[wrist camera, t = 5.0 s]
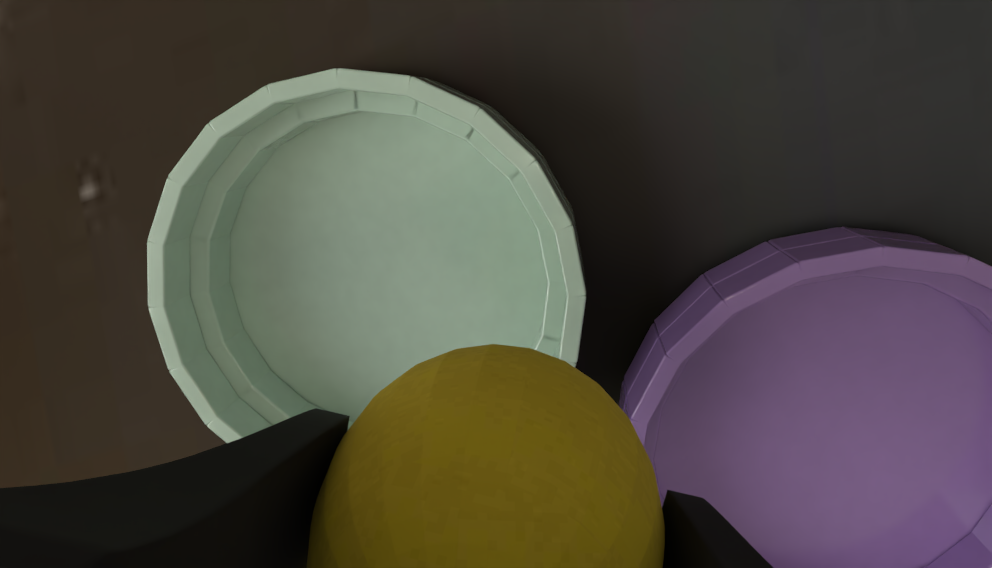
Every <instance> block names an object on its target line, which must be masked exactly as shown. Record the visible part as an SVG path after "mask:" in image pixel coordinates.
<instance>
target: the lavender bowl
mask: <svg viewBox="0 0 992 568" xmlns="http://www.w3.org/2000/svg"><path fill="white" fill-rule="evenodd" d="M619 407H620V408H621V409H622V410H623V411H624V412H625V414H626V415H627V416H628V418H629V419H630V421H631V423H632V425H633V427H634V429H635V431H636V433H637V435H638V437H639V439H640V441H641V443H642V445H643V447H644V449H645V451H646V453H647V454H648V457H649V459H650V461H651V463H652V465H653V469H654V473H655V476H656V481H657V486H658V491H659V496H660V501H661V506H663V503H664V499H665V496H666V493H667V490H671V491H675V492H680V493H684V494H688V495H693V496H697V497H701V498H704V499H705V500H706V501H707V502H709V503H710V504H711V505H712V506H713V507H714V508H715V509H716V510H717V511H718V512H719V513H720V514H721V515H722V516H723V517H724V518H725V519H726V520H727V521H728V522H729V523H730V524H731V525H732V526H733V527H734V528H735V529H736V530H737V531H738V532H739V533H740V534H741V535H742V536H743V537H744V538H745V539H746V540H747V541H748V542H749V544H750V545H751V546H752V547H753V548H754V549H755V550H756V551H757V552H758V553H759V554H760V555H761V556H762V557H763V558H764V559H765V560H766V561H767V562H768V563H769V564H770V565H771V566H772V567H773V568H992V266H990V265H988V264H986V263H984V262H981V261H979V260H977V259H975V258H973V257H970V256H968V255H965V254H963V253H960V252H957V251H955V250H952V249H950V248H947V247H944V246H942V245H939V244H936V243H934V242H931V241H929V240H926V239H923V238H921V237H917V236H915V235H911V234H902V233H894V232H885V231H876V230H868V229H859V228H850V227H836V228H830V229H825V230H820V231H814V232H809V233H803V234H798V235H792V236H787V237H782V238H776V239H771V240H769V241H768V242H767V241H766V242H763V243H761V244H759V245H757V246H755V247H753V248H751V249H749V250H747V251H746V252H744V253H742V254H740V255H738V256H736V257H734V258H732V259H730V260H728V261H726V262H724V263H722V264H720V265H718V266H716V267H714V268H712V269H710V270H708V271H706V272H705V273H704V275H703V274H702V275H700V276H699V277H698V278H697V279H696V280H695V281H694V282H693V283H692V284H691V285H690V286H689V287H688V288H687V289H686V290H685V291H684V292H683V293H682V294H681V295H680V296H679V297H678V298H677V299H676V300H675V301H674V302H672V303H671V304H670V305H669V306H668V307H667V308H666V309H665V310H664V311H663V312H662V313H661V314H660V315H659V316H658V317H657V318H656V319H655V320H654V323H653V324H652V325H651V327H650V328H649V330H648V332H647V334H646V336H645V338H644V340H643V342H642V344H641V345H640V347H639V349H638V351H637V353H636V355H635V357H634V359H633V361H632V363H631V364H630V366H629V368H628V370H627V372H626V374H625V376H624V380H623V382H622V387H621V393H620V399H619Z"/></svg>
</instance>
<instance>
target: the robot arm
mask: <svg viewBox="0 0 992 568" xmlns="http://www.w3.org/2000/svg"><path fill="white" fill-rule="evenodd" d="M349 417H350V416H347V415H343V414H339V413H335V412H330V411H326V410H322V409H317V408H315V409H312V410H309V411H306V412H303V413H301V414H298V415H296V416H293V417H291V418H289V419H286V420H284V421H282V422H279V423H277V424H275V425H272V426H270V427H267V428H265V429H262V430H260V431H258V432H255V433H253V434H250V435H248V436H245V437H243V438H240V439H238V440H235V441H232V442H229V443H227V444H224V445H221V446H218V447H215V448H212V449H210V450H207V451H204V452H201V453H198V454H196V455H193V456H189V457H186V458H183V459H179V460H176V461H172V462H169V463H165V464H161V465H157V466H153V467H149V468H145V469H141V470H136V471H132V472H127V473H121V474H115V475H109V476H103V477H97V478H91V479H85V480H79V481H73V482H66V483H57V484H47V485H38V486H26V487H12V488H0V568H307V558H308V548H309V538H310V528H311V521H312V515H313V510H314V507H315V503H316V499H317V496H318V493H319V491H320V488H321V486H322V483H323V481H324V478H325V476H326V474H327V471H328V469H329V466H330V464H331V461H332V459H333V456H334V454H335V451H336V449H337V447H338V445H339V443H340V441H341V440H342V438H343V436H344V435H345V434H346V432H347V429H348V423H349ZM662 511H663V516H664V524H665V549H664V561H663V568H773V567H772V566H771V565H770V564H769V563H768V562H767V561H766V560H765V559H764V558H763V557H762V556H761V555H760V554H759V553H758V552H757V551H756V550H755V549H754V548H753V547H752V546H751V545H750V544H749V542H748V541H747V540H746V539H745V538H744V537H743V536H742V535H741V534H740V533H739V532H738V531H737V530H736V529H735V528H734V527H733V526H732V525H731V524H730V523H729V522H728V521H727V520H726V519H725V518H724V517H723V516H722V515H721V514H720V513H719V512H718V511H717V510H716V509H715V508H714V507H713V506H712V505H711V504H710V503H709V502H707V501H706V500H705V499H704V498H701V497H697V496H693V495H688V494H684V493H680V492H675V491H671V490H667V493H666V496H665V499H664V503H663V506H662Z"/></svg>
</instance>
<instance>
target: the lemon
mask: <svg viewBox="0 0 992 568" xmlns="http://www.w3.org/2000/svg"><path fill="white" fill-rule="evenodd" d="M664 549H665V524H664V516H663V511H662V506H661V501H660V496H659V491H658V486H657V481H656V476H655V473H654V469H653V465H652V463H651V461H650V459H649V457H648V454H647V453H646V451H645V449H644V447H643V445H642V443H641V441H640V439H639V437H638V435H637V433H636V431H635V429H634V427H633V425H632V423H631V421H630V419H629V418H628V416H627V415H626V414H625V412H624V411H623V410H622V409H621V408H620V407H619V406H618V405H617V404H616V402H615V401H614V400H613V399H612V398H611V397H610V396H609V395H608V394H607V393H606V391H605V390H604V389H603V388H602V387H601V386H600V385H599V384H598V383H597V382H595V381H594V380H592V379H591V378H590V377H588V376H587V375H585V374H584V373H582V372H581V371H579V370H578V369H576V368H575V367H573V366H572V365H570V364H569V363H567V362H566V361H564V360H561V359H558V358H556V357H553V356H550V355H548V354H545V353H542V352H539V351H537V350H534V349H531V348H525V347H517V346H508V345H499V344H489V345H481V346H474V347H466V348H458V349H455V350H452V351H449V352H447V353H444V354H441V355H439V356H436V357H434V358H431V359H429V360H426V361H424V362H421V363H418V364H417V365H415V366H414V367H412V368H411V369H409V370H408V371H406V372H405V373H404V374H402V375H401V376H400V377H398V378H397V379H396V380H394V381H393V382H392V383H390V384H389V385H388V386H386V387H385V388H384V389H382V390H381V391H380V392H379V393H378V394H377V395H375V396H374V397H373V399H372V400H371V401H370V403H369V404H368V405H367V406H366V408H365V409H364V410H363V412H362V413H361V414H360V415H359V417H358V418H357V419H356V421H355V422H354V423H353V424H352V426H351V427H350V428H349V430H348V431H347V432H346V434H345V435H344V436H343V438H342V440H341V441H340V443H339V445H338V447H337V449H336V451H335V454H334V456H333V459H332V461H331V464H330V466H329V469H328V471H327V474H326V476H325V478H324V481H323V483H322V486H321V488H320V491H319V493H318V496H317V499H316V503H315V507H314V510H313V515H312V521H311V528H310V538H309V548H308V558H307V568H663V561H664Z"/></svg>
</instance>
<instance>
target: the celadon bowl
mask: <svg viewBox="0 0 992 568" xmlns="http://www.w3.org/2000/svg"><path fill="white" fill-rule="evenodd" d="M147 273H148V307H149V312H150V315H151V318H152V321H153V324H154V328H155V331H156V334H157V337H158V340H159V343H160V346H161V349H162V352H163V355H164V358H165V361H166V364H167V367H168V370H170V374H171V375H172V377H173V378H174V379H175V381H176V382H177V384H178V385H179V387H180V388H181V390H182V391H183V393H184V394H185V396H186V397H187V398H188V400H189V401H190V403H191V404H192V406H193V407H194V409H195V410H196V412H197V413H198V415H199V416H200V418H201V419H202V420H203V422H204V423H205V424H206V425H207V427H208V428H209V429H211V430H212V431H213V432H214V433H215V434H217V435H218V436H219V437H220V438H221V439H223V440H224V441H225V442H226V443H229V442H232V441H235V440H238V439H240V438H243V437H245V436H248V435H250V434H253V433H255V432H258V431H260V430H262V429H265V428H267V427H270V426H272V425H275V424H277V423H279V422H282V421H284V420H286V419H289V418H291V417H293V416H296V415H298V414H301V413H303V412H306V411H309V410H312V409H315V408H317V409H322V410H326V411H330V412H335V413H339V414H343V415H347V416H350V417H349V423H348V429H347V431H348V430H349V428H350V427H351V426H352V424H353V423H354V422H355V421H356V419H357V418H358V417H359V415H360V414H361V413H362V412H363V410H364V409H365V408H366V406H367V405H368V404H369V403H370V401H371V400H372V399H373V397H374V396H375V395H377V394H378V393H379V392H380V391H381V390H382V389H384V388H385V387H386V386H388V385H389V384H390V383H392V382H393V381H394V380H396V379H397V378H398V377H400V376H401V375H402V374H404V373H405V372H406V371H408V370H409V369H411V368H412V367H414V366H415V365H417V364H418V363H421V362H424V361H426V360H429V359H431V358H434V357H436V356H439V355H441V354H444V353H447V352H449V351H452V350H455V349H458V348H466V347H474V346H481V345H489V344H499V345H508V346H517V347H525V348H531V349H534V350H537V351H539V352H542V353H545V354H548V355H550V356H553V357H556V358H558V359H561V360H564V361H566V362H567V363H569V364H570V365H572V366H573V367H576V363H577V361H578V355H579V347H580V340H581V333H582V326H583V318H584V311H585V304H586V283H585V272H584V265H583V260H582V254H581V249H580V244H579V239H578V233H577V228H576V223H575V218H574V212H573V211H572V207H571V205H570V203H569V201H568V199H567V198H566V196H565V194H564V192H563V190H562V189H561V187H560V185H559V183H558V181H557V180H556V178H555V176H554V174H553V172H552V171H551V169H550V167H549V165H548V163H547V162H546V160H545V158H544V156H543V154H542V153H540V151H539V150H538V149H537V148H536V147H535V146H534V145H533V144H532V143H531V142H530V141H529V140H528V139H527V138H526V137H524V136H523V135H522V134H521V133H520V132H519V131H518V130H517V129H516V128H515V127H514V126H513V125H512V124H510V123H509V122H508V121H507V120H506V119H505V118H504V117H503V116H502V115H501V114H500V113H499V112H497V111H496V110H495V109H494V108H491V106H490V105H488V104H485V103H483V102H481V101H479V100H477V99H474V98H472V97H470V96H468V95H466V94H464V93H461V92H459V91H457V90H455V89H453V88H450V87H448V86H446V85H444V84H442V83H440V82H437V81H435V80H431V79H428V78H422V77H416V76H411V75H402V74H393V73H383V72H374V71H364V70H355V69H345V68H338V69H337V68H333V69H329V70H325V71H321V72H316V73H312V74H308V75H304V76H300V77H295V78H291V79H287V80H283V81H278V82H274V83H270V84H268V85H265V86H263V87H262V88H260V89H259V90H257V91H256V92H254V93H253V94H251V95H250V96H248V97H246V98H245V99H243V100H242V101H240V102H239V103H237V104H236V105H234V106H233V107H231V108H230V109H228V110H227V111H225V112H223V113H222V114H220V115H219V116H217V117H216V118H214V119H213V120H211V121H210V122H209V123H208V124H207V125H206V126H205V127H204V129H203V130H202V131H201V133H200V134H199V135H198V137H197V138H196V139H195V141H194V142H193V143H192V145H191V146H190V147H189V149H188V150H187V151H186V153H185V154H184V155H183V157H182V158H181V159H180V161H179V162H178V163H177V165H176V166H175V167H174V169H173V170H172V171H171V173H170V174H169V175H168V178H167V180H166V183H165V186H164V189H163V192H162V195H161V199H160V202H159V205H158V208H157V211H156V214H155V217H154V221H153V224H152V227H151V230H150V233H149V236H148V242H147Z"/></svg>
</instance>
